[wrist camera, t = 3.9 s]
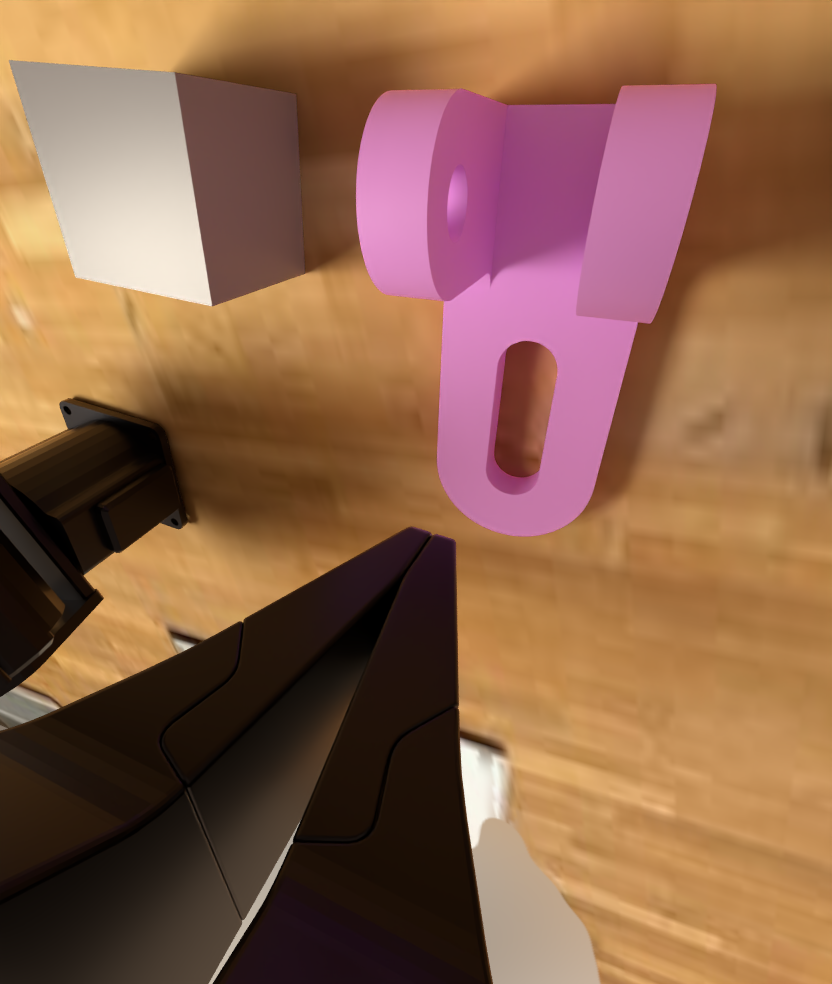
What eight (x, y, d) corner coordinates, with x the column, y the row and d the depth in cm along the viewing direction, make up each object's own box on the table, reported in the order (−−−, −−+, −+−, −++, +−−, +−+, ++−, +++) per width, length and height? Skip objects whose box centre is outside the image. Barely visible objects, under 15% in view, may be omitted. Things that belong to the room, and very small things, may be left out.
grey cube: (191, 252, 19) (75, 277, 15) (162, 83, 16) (8, 59, 12) (306, 272, 18) (212, 306, 14) (297, 94, 15) (174, 72, 11)
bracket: (468, 109, 13) (350, 79, 8) (691, 107, 12) (729, 67, 6) (445, 498, 21) (375, 617, 15) (580, 529, 19) (555, 674, 14)
